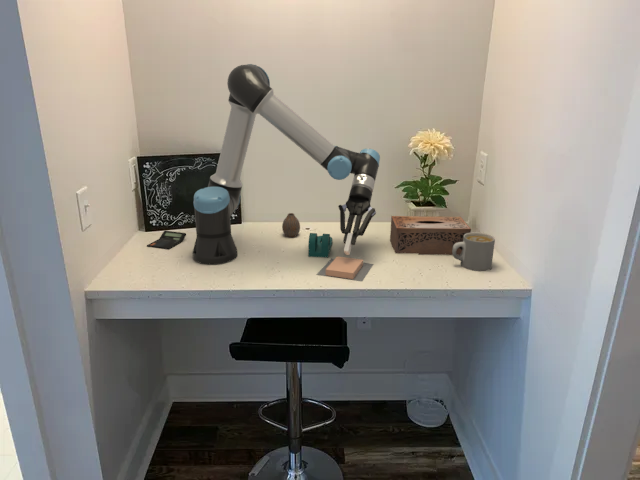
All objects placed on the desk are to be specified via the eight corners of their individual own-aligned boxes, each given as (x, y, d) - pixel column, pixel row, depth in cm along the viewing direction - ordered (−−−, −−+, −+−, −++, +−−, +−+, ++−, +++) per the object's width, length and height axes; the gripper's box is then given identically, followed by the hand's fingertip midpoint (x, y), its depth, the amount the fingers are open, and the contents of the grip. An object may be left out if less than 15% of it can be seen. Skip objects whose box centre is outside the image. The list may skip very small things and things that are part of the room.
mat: (316, 275, 160) (316, 274, 160) (331, 259, 173) (331, 258, 173) (362, 282, 155) (362, 281, 155) (373, 265, 168) (373, 264, 168)
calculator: (147, 247, 184) (146, 239, 183) (165, 237, 194) (165, 230, 193) (169, 250, 181) (168, 242, 180) (186, 240, 192) (186, 232, 191)
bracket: (327, 259, 174) (328, 237, 171) (308, 258, 175) (308, 236, 172) (333, 241, 191) (333, 221, 188) (315, 240, 192) (315, 221, 189)
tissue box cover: (395, 255, 178) (396, 228, 175) (390, 241, 192) (391, 216, 188) (467, 255, 178) (471, 228, 175) (457, 241, 192) (460, 216, 188)
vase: (280, 233, 199) (280, 212, 196) (297, 231, 201) (297, 210, 198) (284, 239, 192) (284, 217, 190) (302, 237, 194) (302, 215, 192)
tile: (337, 262, 170) (325, 275, 159) (337, 256, 169) (325, 269, 158) (363, 265, 167) (353, 279, 156) (363, 259, 166) (353, 273, 155)
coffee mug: (488, 260, 173) (491, 233, 170) (493, 271, 164) (497, 243, 160) (448, 258, 175) (451, 231, 171) (451, 269, 165) (454, 240, 162)
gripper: (341, 183, 170) (325, 245, 161) (379, 186, 166) (364, 250, 157) (345, 194, 177) (329, 255, 168) (381, 198, 173) (368, 260, 164)
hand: (346, 252), depth 162 cm, fingers closed
